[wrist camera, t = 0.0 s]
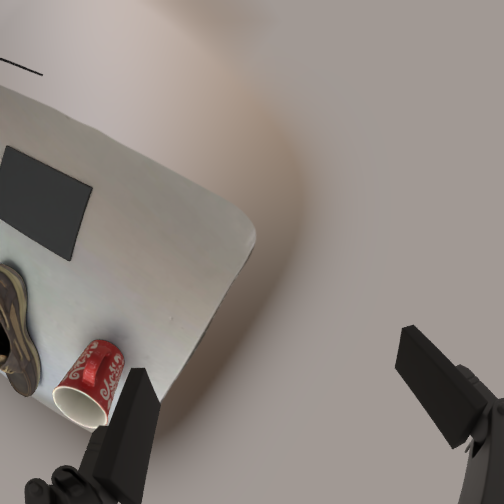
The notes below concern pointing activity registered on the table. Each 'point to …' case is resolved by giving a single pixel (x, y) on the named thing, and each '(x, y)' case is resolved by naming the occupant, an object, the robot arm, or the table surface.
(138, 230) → the table surface
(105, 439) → the robot arm
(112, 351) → the mug
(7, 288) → the boat shoe
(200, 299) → the table surface
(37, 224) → the mat
